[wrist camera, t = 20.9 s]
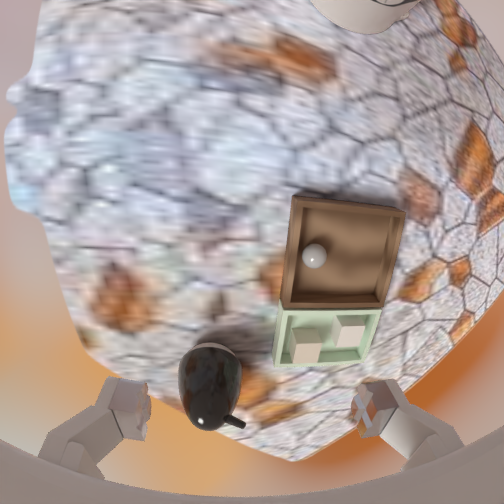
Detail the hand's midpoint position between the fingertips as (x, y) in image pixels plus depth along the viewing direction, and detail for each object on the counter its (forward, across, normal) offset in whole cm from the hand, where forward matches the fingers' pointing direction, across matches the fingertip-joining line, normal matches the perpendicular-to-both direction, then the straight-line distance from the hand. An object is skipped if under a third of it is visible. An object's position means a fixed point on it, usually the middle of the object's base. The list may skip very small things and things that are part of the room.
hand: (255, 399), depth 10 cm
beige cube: (+30, -12, +20) cm, 38 cm away
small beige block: (+30, -18, +17) cm, 39 cm away
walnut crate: (+31, -15, +5) cm, 35 cm away
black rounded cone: (+31, +3, +25) cm, 40 cm away
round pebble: (+30, -10, +5) cm, 32 cm away
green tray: (+31, -15, +18) cm, 39 cm away
